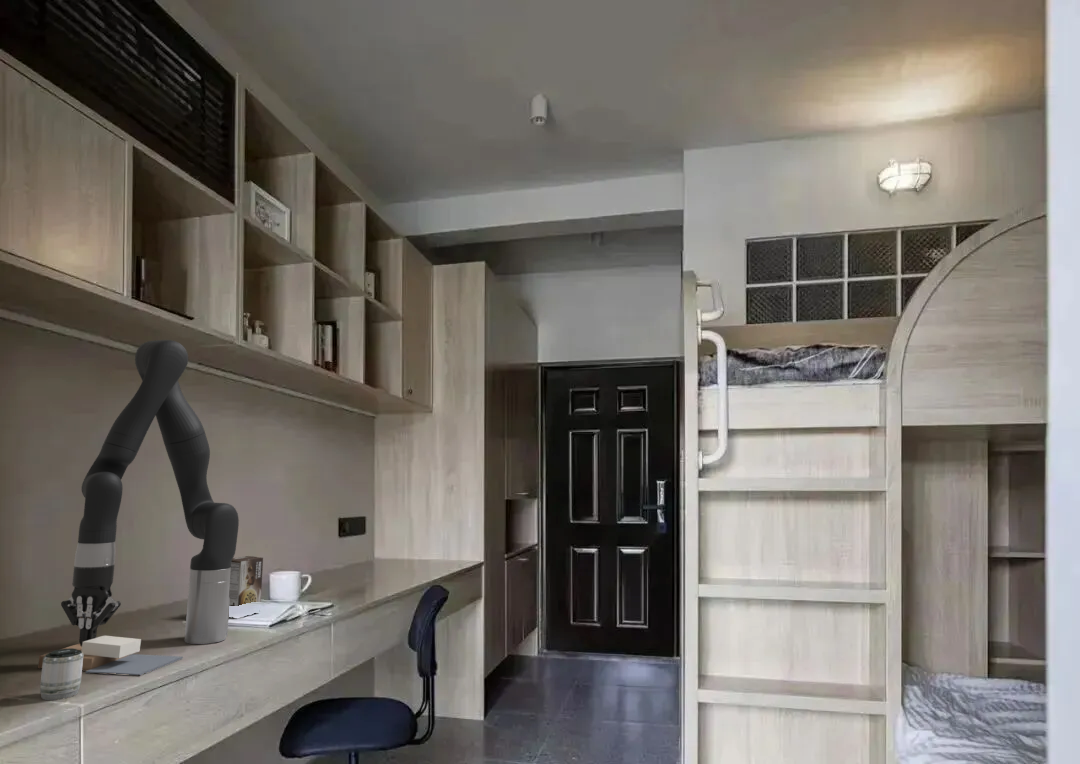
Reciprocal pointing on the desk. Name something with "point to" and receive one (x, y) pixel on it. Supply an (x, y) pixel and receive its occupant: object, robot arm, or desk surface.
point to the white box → (111, 646)
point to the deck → (86, 659)
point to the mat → (135, 664)
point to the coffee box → (245, 580)
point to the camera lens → (61, 674)
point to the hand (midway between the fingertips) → (86, 645)
